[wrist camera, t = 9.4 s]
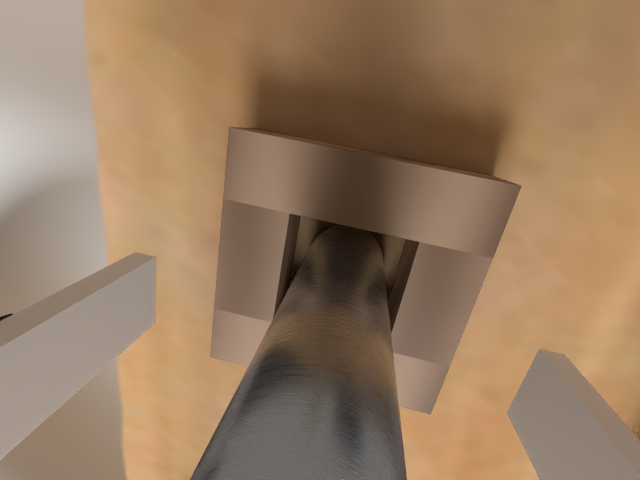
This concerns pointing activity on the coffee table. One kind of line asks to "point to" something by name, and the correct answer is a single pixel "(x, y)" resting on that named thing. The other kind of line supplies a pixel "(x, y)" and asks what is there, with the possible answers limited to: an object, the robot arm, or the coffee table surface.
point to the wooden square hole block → (363, 213)
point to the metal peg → (318, 378)
